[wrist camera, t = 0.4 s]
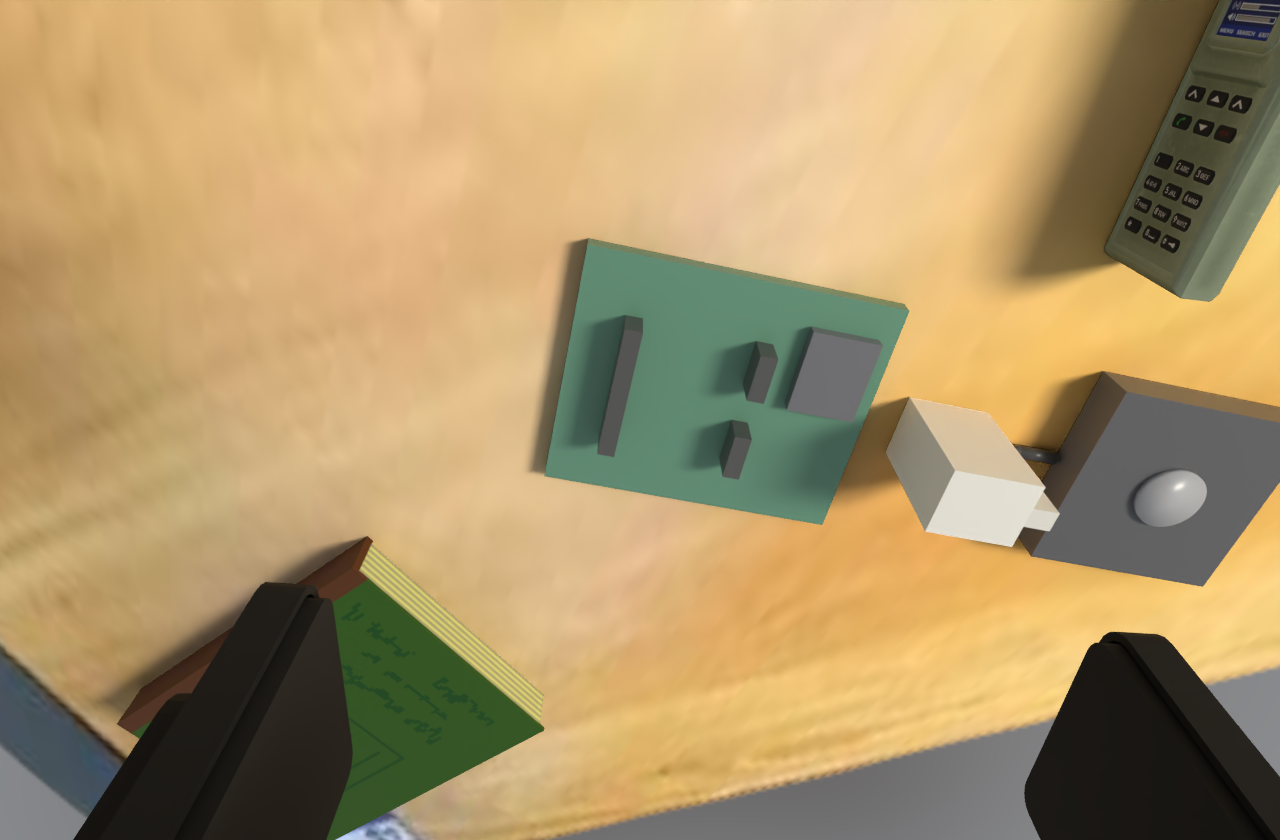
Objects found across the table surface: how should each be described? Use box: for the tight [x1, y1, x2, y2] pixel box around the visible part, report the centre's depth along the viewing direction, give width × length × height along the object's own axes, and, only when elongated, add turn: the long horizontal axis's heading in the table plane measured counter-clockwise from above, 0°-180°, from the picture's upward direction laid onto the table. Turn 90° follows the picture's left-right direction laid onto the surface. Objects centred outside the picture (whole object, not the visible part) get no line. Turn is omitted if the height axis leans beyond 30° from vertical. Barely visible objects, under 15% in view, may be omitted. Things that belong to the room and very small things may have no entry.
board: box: [545, 239, 909, 525], centre depth 46 cm, size 15×18×3 cm
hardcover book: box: [117, 536, 544, 840], centre depth 59 cm, size 25×19×4 cm
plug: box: [886, 397, 1060, 547], centre depth 46 cm, size 4×6×8 cm, turn 78°
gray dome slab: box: [1014, 371, 1280, 587], centre depth 49 cm, size 12×15×3 cm
